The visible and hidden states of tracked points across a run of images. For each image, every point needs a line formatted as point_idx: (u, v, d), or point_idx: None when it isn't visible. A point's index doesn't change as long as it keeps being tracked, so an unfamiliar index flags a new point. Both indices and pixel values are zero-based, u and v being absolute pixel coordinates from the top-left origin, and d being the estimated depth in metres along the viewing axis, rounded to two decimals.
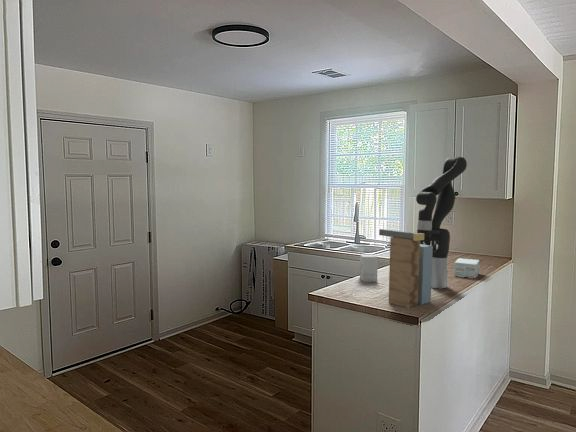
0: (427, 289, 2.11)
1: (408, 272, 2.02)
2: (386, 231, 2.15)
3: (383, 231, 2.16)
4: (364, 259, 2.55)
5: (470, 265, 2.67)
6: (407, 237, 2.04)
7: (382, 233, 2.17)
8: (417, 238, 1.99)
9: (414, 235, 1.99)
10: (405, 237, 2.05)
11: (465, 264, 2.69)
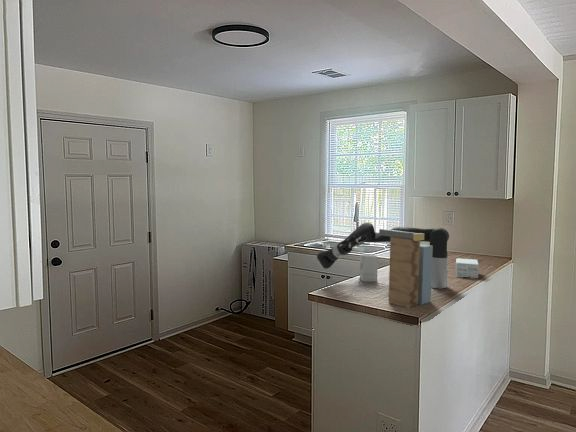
0: (427, 289, 2.11)
1: (408, 272, 2.02)
2: (386, 231, 2.15)
3: (383, 231, 2.16)
4: (364, 259, 2.55)
5: (472, 265, 2.67)
6: (407, 237, 2.04)
7: (382, 233, 2.17)
8: (417, 238, 1.99)
9: (414, 235, 1.99)
10: (405, 237, 2.05)
11: (467, 264, 2.69)
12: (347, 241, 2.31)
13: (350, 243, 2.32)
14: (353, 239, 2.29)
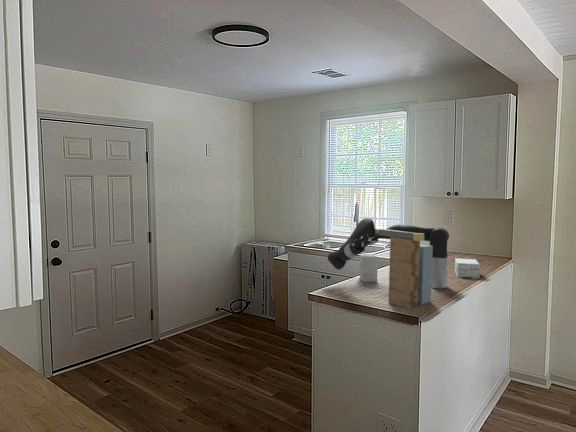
0: (427, 289, 2.11)
1: (408, 272, 2.02)
2: (386, 231, 2.15)
3: (383, 231, 2.16)
4: (364, 259, 2.55)
5: (474, 265, 2.67)
6: (407, 237, 2.04)
7: (382, 233, 2.17)
8: (417, 238, 1.99)
9: (414, 235, 1.99)
10: (405, 237, 2.05)
11: (469, 264, 2.68)
12: (360, 240, 2.22)
13: (363, 242, 2.23)
14: (366, 238, 2.20)
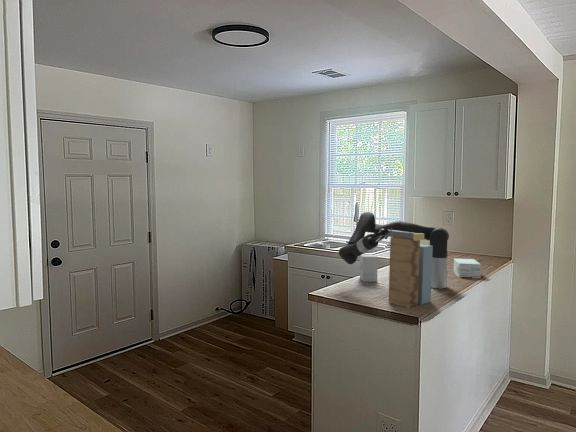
0: (427, 289, 2.11)
1: (408, 272, 2.02)
2: None
3: None
4: (364, 259, 2.55)
5: (475, 265, 2.68)
6: (407, 237, 2.04)
7: None
8: (417, 238, 1.99)
9: (414, 235, 1.99)
10: (405, 237, 2.05)
11: (470, 264, 2.68)
12: (379, 233, 2.16)
13: (382, 236, 2.17)
14: (385, 231, 2.14)
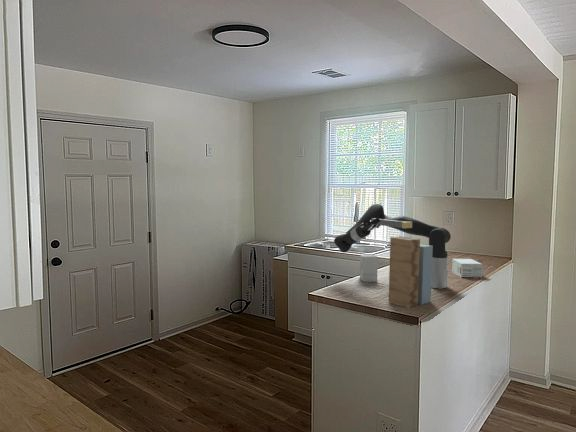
0: (427, 289, 2.11)
1: (408, 272, 2.02)
2: None
3: None
4: (364, 259, 2.55)
5: (477, 265, 2.68)
6: (396, 225, 2.22)
7: None
8: (406, 225, 2.17)
9: (403, 223, 2.17)
10: (395, 225, 2.23)
11: (472, 264, 2.68)
12: (371, 222, 2.33)
13: (373, 225, 2.34)
14: (377, 220, 2.31)
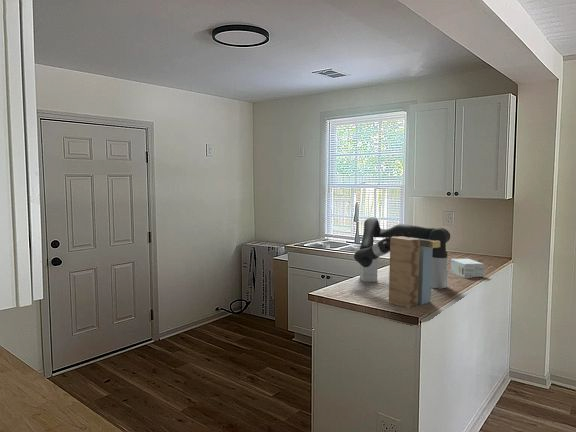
0: (427, 289, 2.11)
1: (408, 272, 2.02)
2: None
3: None
4: None
5: (479, 265, 2.69)
6: (423, 244, 2.09)
7: None
8: (434, 245, 2.04)
9: (430, 242, 2.04)
10: (421, 244, 2.10)
11: (474, 264, 2.68)
12: None
13: None
14: None
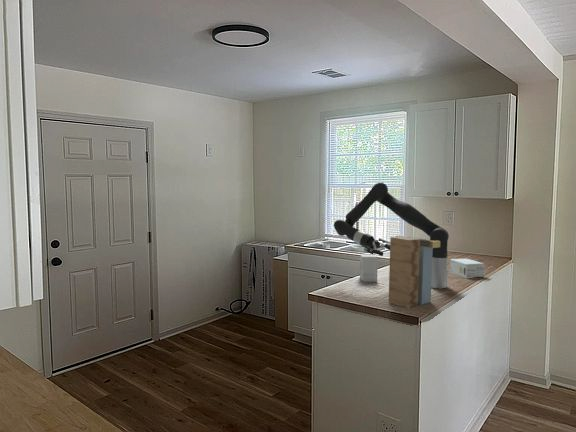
0: (427, 289, 2.11)
1: (408, 272, 2.02)
2: None
3: None
4: (364, 259, 2.55)
5: (480, 265, 2.69)
6: (423, 244, 2.09)
7: None
8: (434, 245, 2.04)
9: (430, 242, 2.04)
10: (421, 244, 2.10)
11: (475, 264, 2.68)
12: (374, 252, 2.30)
13: None
14: (380, 255, 2.28)
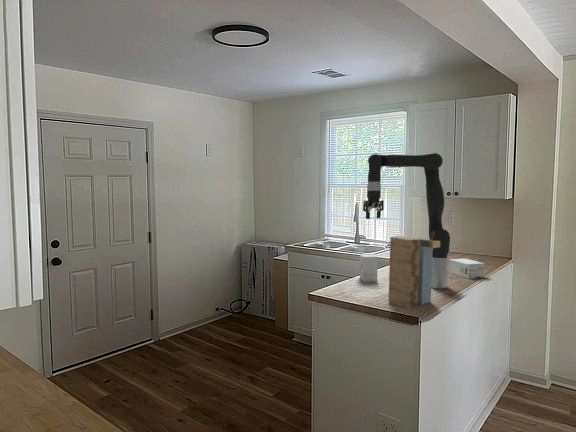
0: (427, 289, 2.11)
1: (408, 272, 2.02)
2: None
3: None
4: (364, 259, 2.55)
5: (480, 264, 2.70)
6: (423, 244, 2.09)
7: None
8: (434, 245, 2.04)
9: (430, 242, 2.04)
10: (421, 244, 2.10)
11: (476, 264, 2.69)
12: (365, 211, 2.40)
13: None
14: (366, 217, 2.42)
